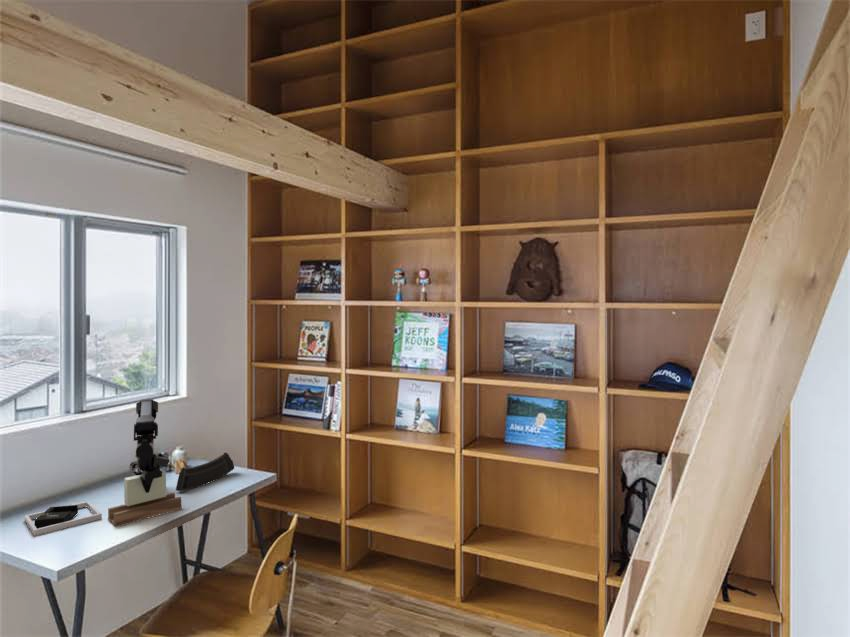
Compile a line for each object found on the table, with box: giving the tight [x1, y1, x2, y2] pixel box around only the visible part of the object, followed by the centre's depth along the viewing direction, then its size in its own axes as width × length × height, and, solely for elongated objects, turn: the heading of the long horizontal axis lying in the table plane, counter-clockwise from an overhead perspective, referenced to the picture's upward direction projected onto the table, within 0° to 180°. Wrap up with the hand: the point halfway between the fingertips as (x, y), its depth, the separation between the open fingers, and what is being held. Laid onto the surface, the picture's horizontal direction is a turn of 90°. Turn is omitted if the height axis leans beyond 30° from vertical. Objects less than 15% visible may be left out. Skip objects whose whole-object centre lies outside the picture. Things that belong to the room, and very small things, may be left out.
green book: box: [123, 469, 167, 506], centre depth 205 cm, size 4×14×10 cm, turn 136°
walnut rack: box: [107, 492, 183, 527], centre depth 205 cm, size 9×24×4 cm, turn 136°
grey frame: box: [24, 500, 103, 537], centre depth 199 cm, size 18×21×2 cm
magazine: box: [175, 452, 235, 492], centre depth 240 cm, size 17×3×30 cm
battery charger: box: [34, 504, 79, 529], centre depth 197 cm, size 13×10×4 cm
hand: (145, 491), depth 205 cm, fingers closed on green book, 3 cm apart
